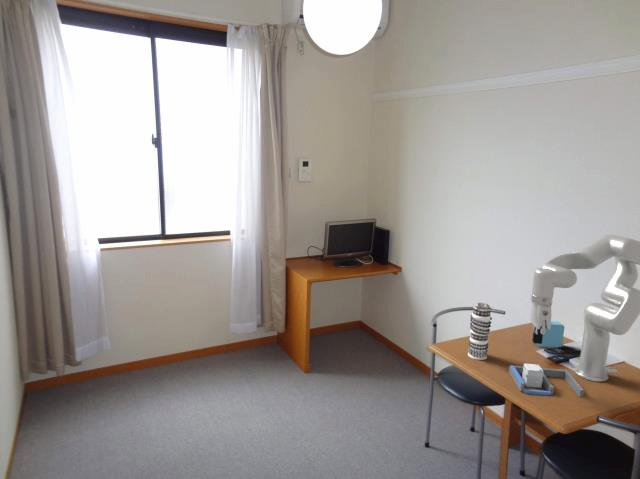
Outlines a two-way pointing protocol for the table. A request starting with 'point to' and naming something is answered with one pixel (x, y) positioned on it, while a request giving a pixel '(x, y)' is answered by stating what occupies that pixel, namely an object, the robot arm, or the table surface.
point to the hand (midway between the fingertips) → (537, 342)
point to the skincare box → (532, 375)
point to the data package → (553, 335)
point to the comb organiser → (545, 380)
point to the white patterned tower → (479, 331)
